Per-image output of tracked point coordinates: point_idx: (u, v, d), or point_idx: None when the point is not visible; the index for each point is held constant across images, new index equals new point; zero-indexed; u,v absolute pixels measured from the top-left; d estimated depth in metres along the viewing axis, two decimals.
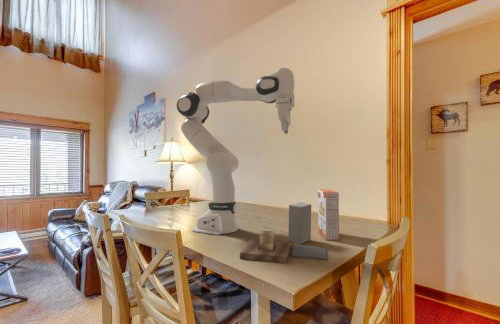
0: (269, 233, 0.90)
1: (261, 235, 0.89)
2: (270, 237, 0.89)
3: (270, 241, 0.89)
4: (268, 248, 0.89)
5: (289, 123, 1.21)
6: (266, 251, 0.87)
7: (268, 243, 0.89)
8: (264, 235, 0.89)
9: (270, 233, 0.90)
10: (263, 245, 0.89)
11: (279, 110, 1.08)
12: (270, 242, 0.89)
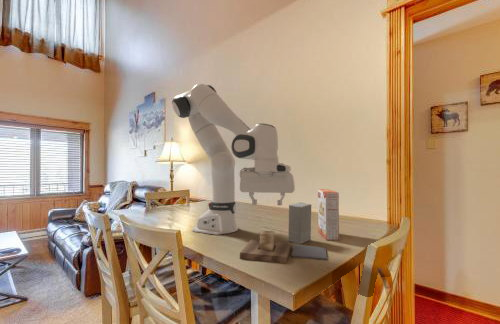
0: (269, 233, 0.90)
1: (261, 235, 0.89)
2: (270, 237, 0.89)
3: (270, 241, 0.89)
4: (268, 248, 0.89)
5: None
6: (266, 251, 0.87)
7: (268, 243, 0.89)
8: (264, 235, 0.89)
9: (270, 233, 0.90)
10: (263, 245, 0.89)
11: (293, 182, 0.88)
12: (270, 242, 0.89)
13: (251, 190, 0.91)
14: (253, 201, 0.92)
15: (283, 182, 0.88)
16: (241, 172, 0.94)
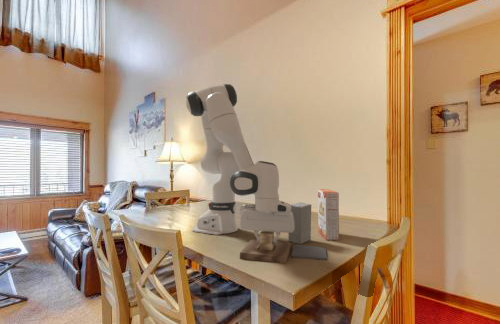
0: (269, 233, 0.90)
1: (261, 235, 0.89)
2: (270, 237, 0.89)
3: (270, 241, 0.89)
4: (268, 248, 0.89)
5: None
6: (266, 251, 0.87)
7: (268, 243, 0.89)
8: (264, 235, 0.89)
9: (270, 233, 0.90)
10: (263, 245, 0.89)
11: (293, 222, 0.88)
12: (270, 242, 0.89)
13: (251, 228, 0.91)
14: (258, 239, 0.91)
15: (283, 222, 0.88)
16: (241, 209, 0.93)
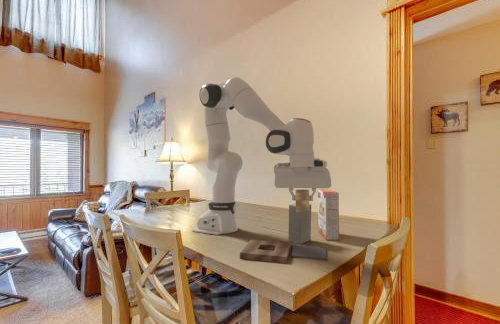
0: (305, 190, 0.89)
1: (297, 192, 0.89)
2: (306, 193, 0.88)
3: (306, 197, 0.88)
4: (304, 205, 0.88)
5: None
6: (266, 251, 0.87)
7: (304, 200, 0.88)
8: (300, 192, 0.89)
9: (306, 190, 0.89)
10: (299, 202, 0.89)
11: (330, 178, 0.87)
12: (306, 198, 0.88)
13: (286, 186, 0.90)
14: (293, 197, 0.91)
15: (319, 178, 0.87)
16: (275, 167, 0.93)
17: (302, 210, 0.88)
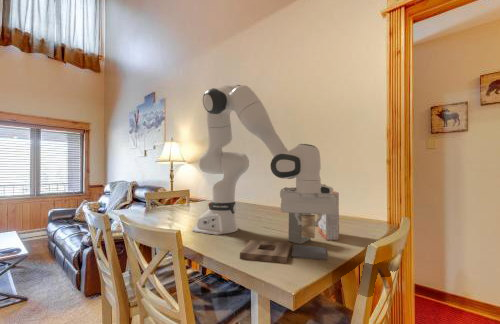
0: (311, 216, 0.90)
1: (303, 217, 0.89)
2: (312, 219, 0.88)
3: (312, 223, 0.88)
4: (310, 231, 0.88)
5: None
6: (266, 251, 0.87)
7: (310, 225, 0.89)
8: (306, 217, 0.89)
9: (312, 216, 0.90)
10: (305, 228, 0.89)
11: (336, 204, 0.88)
12: (312, 224, 0.88)
13: (293, 211, 0.91)
14: (299, 222, 0.91)
15: (326, 204, 0.88)
16: (282, 192, 0.93)
17: (308, 236, 0.89)
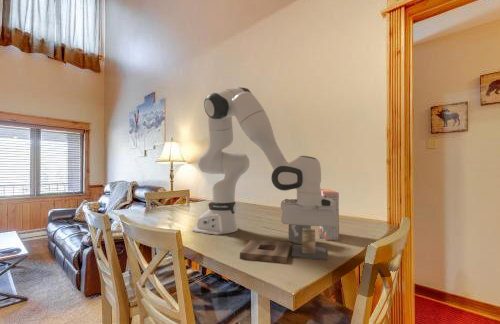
0: (311, 231, 0.90)
1: (304, 233, 0.90)
2: (313, 235, 0.89)
3: (313, 239, 0.89)
4: (311, 247, 0.89)
5: None
6: (266, 251, 0.87)
7: (311, 241, 0.89)
8: (307, 233, 0.89)
9: (312, 231, 0.90)
10: (306, 243, 0.89)
11: (337, 217, 0.88)
12: (313, 240, 0.89)
13: (293, 222, 0.91)
14: (295, 233, 0.92)
15: (326, 216, 0.88)
16: (282, 203, 0.94)
17: (309, 251, 0.89)
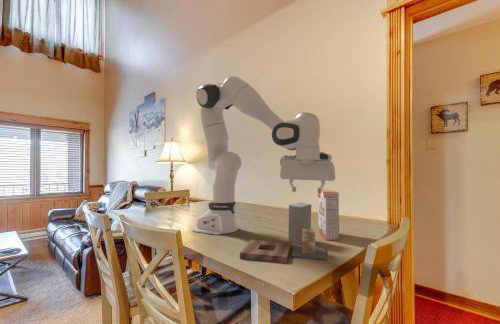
0: (311, 231, 0.90)
1: (304, 233, 0.90)
2: (313, 235, 0.89)
3: (313, 239, 0.89)
4: (311, 247, 0.89)
5: None
6: (266, 251, 0.87)
7: (311, 241, 0.89)
8: (307, 233, 0.89)
9: (312, 231, 0.90)
10: (306, 243, 0.89)
11: (334, 171, 0.91)
12: (313, 240, 0.89)
13: (292, 177, 0.94)
14: (293, 188, 0.94)
15: (324, 170, 0.91)
16: (282, 159, 0.96)
17: (309, 251, 0.89)
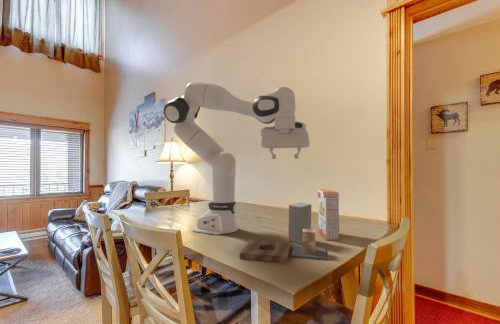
0: (311, 231, 0.90)
1: (304, 233, 0.90)
2: (313, 235, 0.89)
3: (313, 239, 0.89)
4: (311, 247, 0.89)
5: None
6: (266, 251, 0.87)
7: (311, 241, 0.89)
8: (307, 233, 0.89)
9: (312, 231, 0.90)
10: (306, 243, 0.89)
11: (308, 138, 1.02)
12: (313, 240, 0.89)
13: (271, 145, 1.05)
14: (273, 155, 1.05)
15: (299, 138, 1.02)
16: (262, 131, 1.07)
17: (309, 251, 0.89)
